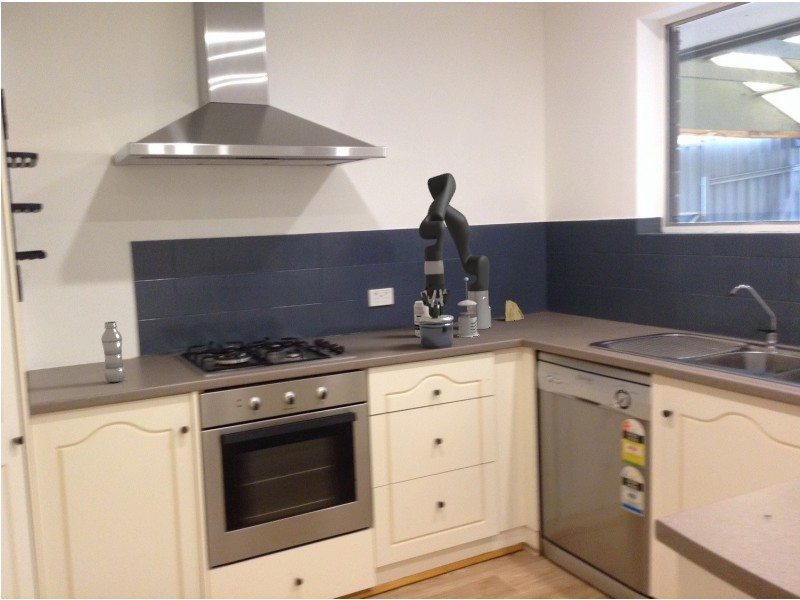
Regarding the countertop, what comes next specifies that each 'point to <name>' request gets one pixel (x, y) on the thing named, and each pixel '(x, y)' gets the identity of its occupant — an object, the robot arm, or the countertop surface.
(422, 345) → the pot
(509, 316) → the yellow wedge
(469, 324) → the french press
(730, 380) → the countertop surface
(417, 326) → the supplement can
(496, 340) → the countertop surface
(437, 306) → the lid
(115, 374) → the plastic bottle
